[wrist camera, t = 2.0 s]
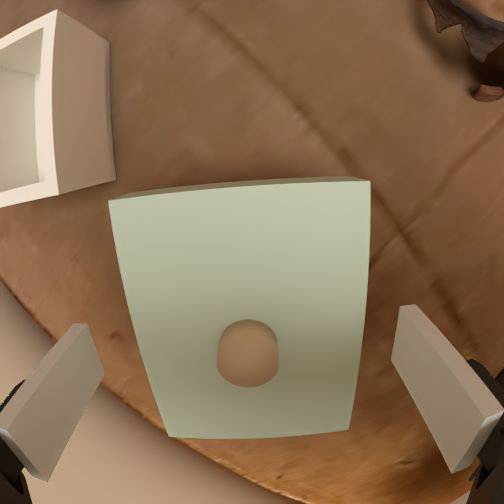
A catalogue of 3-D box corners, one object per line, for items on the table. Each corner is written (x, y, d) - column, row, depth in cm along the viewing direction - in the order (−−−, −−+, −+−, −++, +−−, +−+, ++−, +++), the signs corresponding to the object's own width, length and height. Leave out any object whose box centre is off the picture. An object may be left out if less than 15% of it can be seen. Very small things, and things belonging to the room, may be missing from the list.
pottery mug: (445, 114, 18) (468, 41, 11) (403, 27, 20) (400, -45, 12) (556, 109, 14) (595, 56, 7) (508, 27, 16) (525, -31, 8)
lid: (339, 400, 17) (354, 449, 14) (176, 407, 18) (163, 456, 14) (351, 176, 13) (385, 185, 10) (131, 192, 14) (90, 207, 10)
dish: (116, 179, 20) (58, 194, 13) (39, 194, 20) (-24, 213, 13) (109, 42, 17) (57, 9, 10) (33, 70, 17) (-27, 56, 10)
